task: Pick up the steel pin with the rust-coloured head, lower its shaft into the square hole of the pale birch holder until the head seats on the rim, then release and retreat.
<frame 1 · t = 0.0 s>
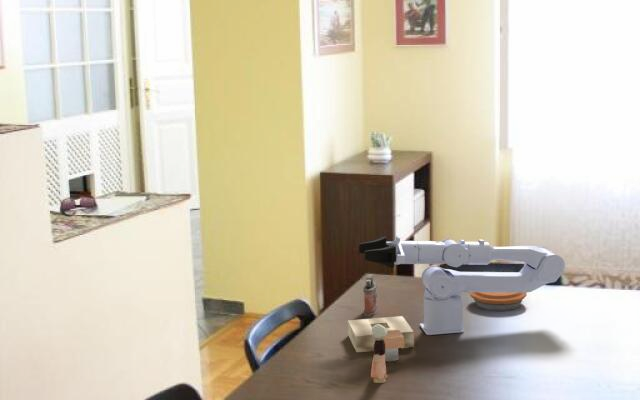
hand: (361, 251, 221), 22 cm above the table, tool horizontal, fingers open, 7 cm apart
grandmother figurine: (379, 381, 196), on the table
pin: (390, 358, 209), on the table
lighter: (370, 313, 243), on the table
pie: (497, 305, 245), on the table
holder: (380, 341, 220), on the table
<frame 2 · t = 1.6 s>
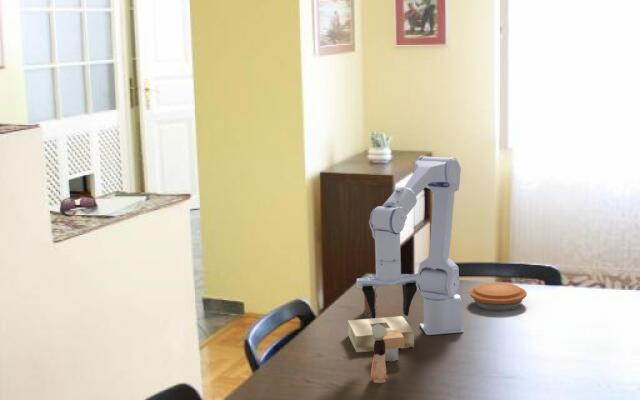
hand: (389, 315, 207), 10 cm above the table, tool pointing down, fingers open, 7 cm apart
nothing on the table moved.
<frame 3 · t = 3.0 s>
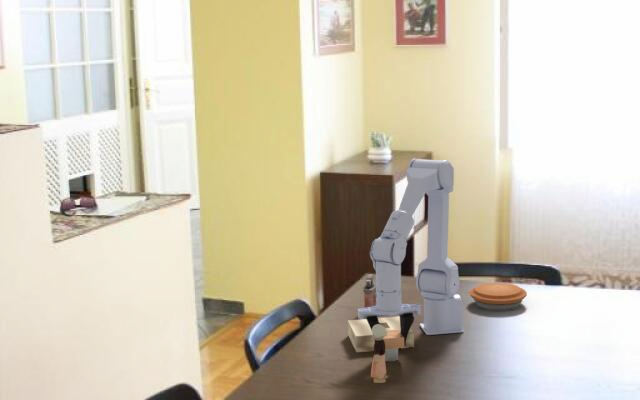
hand: (390, 345, 208), 3 cm above the table, tool pointing down, fingers closed on pin, 5 cm apart
pin: (390, 358, 209), on the table, touching gripper
everything else where it was.
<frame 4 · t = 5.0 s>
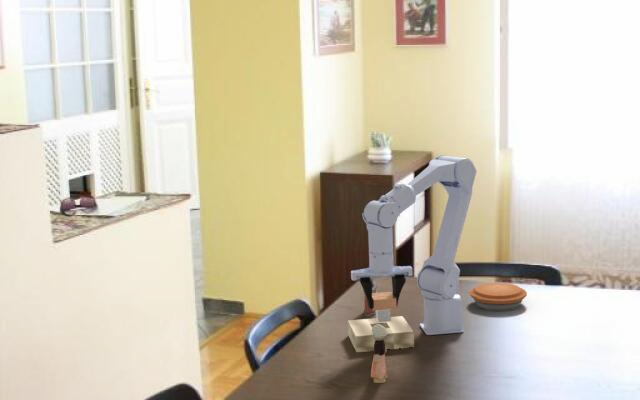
hand: (382, 306, 215), 10 cm above the table, tool pointing down, fingers closed on pin, 5 cm apart
pin: (383, 319, 215), point 7 cm above the table, touching gripper
everything else where it was.
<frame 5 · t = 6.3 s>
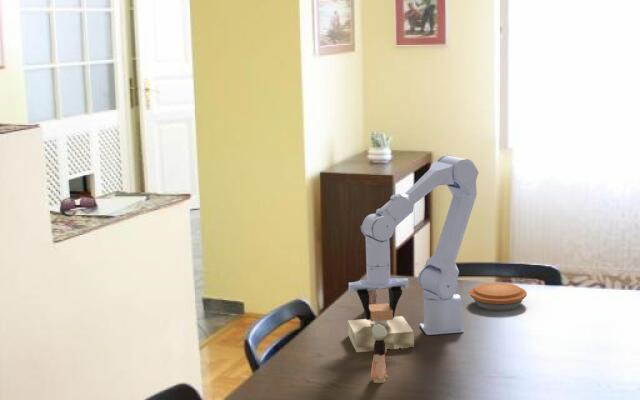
hand: (379, 317, 219), 6 cm above the table, tool pointing down, fingers closed on pin, 5 cm apart
pin: (380, 330, 220), point 3 cm above the table, touching gripper
everything else where it was.
when the fingers open (5 cm above the table, at t = 7.2 s): pin stays where it is, resting on holder.
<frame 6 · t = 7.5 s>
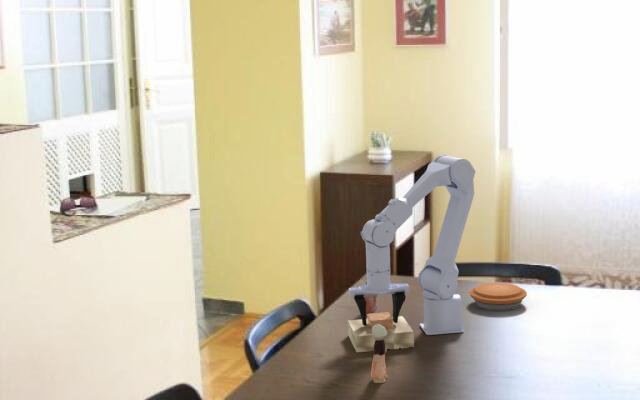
hand: (379, 323, 219), 5 cm above the table, tool pointing down, fingers open, 7 cm apart
pin: (380, 339, 220), resting on holder
everything else where it was.
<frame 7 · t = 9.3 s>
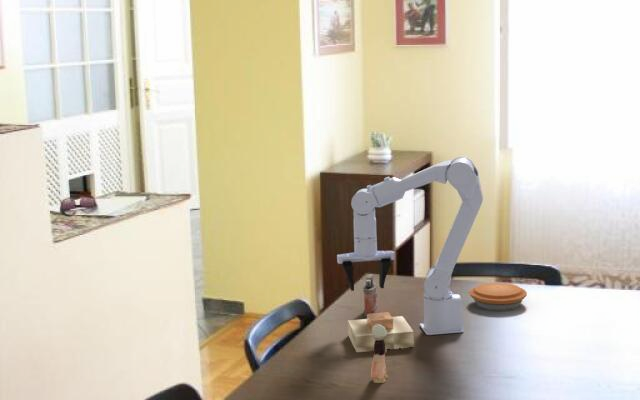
hand: (366, 288, 229), 10 cm above the table, tool pointing down, fingers open, 7 cm apart
nothing on the table moved.
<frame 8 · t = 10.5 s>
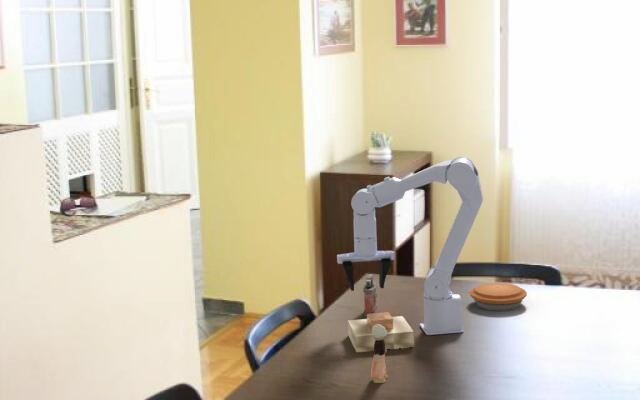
hand: (366, 288, 229), 10 cm above the table, tool pointing down, fingers open, 7 cm apart
nothing on the table moved.
at the end: pin 0.2 cm off-centre on the holder, point 0.5 cm above the holder's base; pin tilted 0°; the gripper is holding nothing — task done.
